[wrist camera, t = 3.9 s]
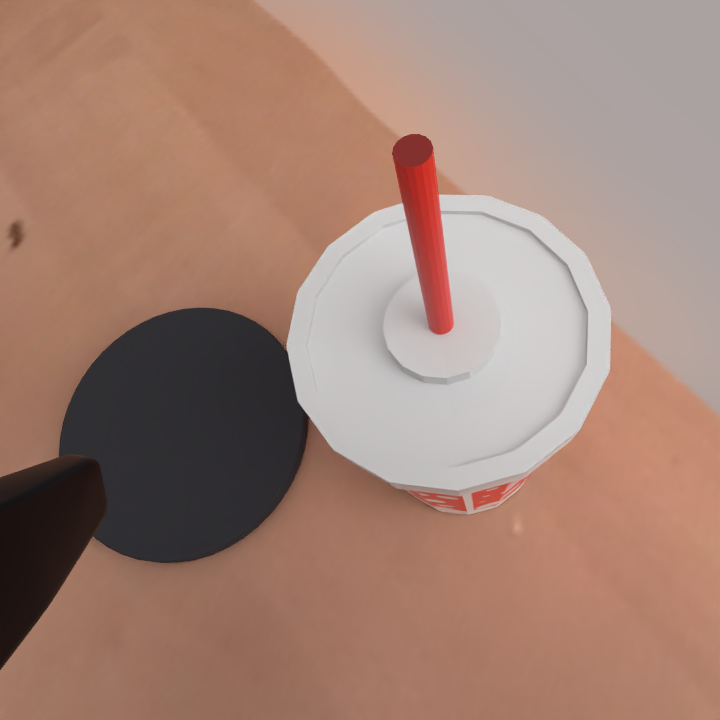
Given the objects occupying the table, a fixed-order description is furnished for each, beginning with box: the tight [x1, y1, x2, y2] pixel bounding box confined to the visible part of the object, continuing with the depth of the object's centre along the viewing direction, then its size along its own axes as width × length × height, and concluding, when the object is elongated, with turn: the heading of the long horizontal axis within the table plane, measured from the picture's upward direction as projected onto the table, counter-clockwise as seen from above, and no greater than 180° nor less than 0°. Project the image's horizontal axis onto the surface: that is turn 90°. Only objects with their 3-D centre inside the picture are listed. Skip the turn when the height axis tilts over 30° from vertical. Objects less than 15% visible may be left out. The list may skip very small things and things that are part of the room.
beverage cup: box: [286, 134, 611, 515], centre depth 14 cm, size 6×6×14 cm
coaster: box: [59, 308, 308, 563], centre depth 22 cm, size 9×9×1 cm
